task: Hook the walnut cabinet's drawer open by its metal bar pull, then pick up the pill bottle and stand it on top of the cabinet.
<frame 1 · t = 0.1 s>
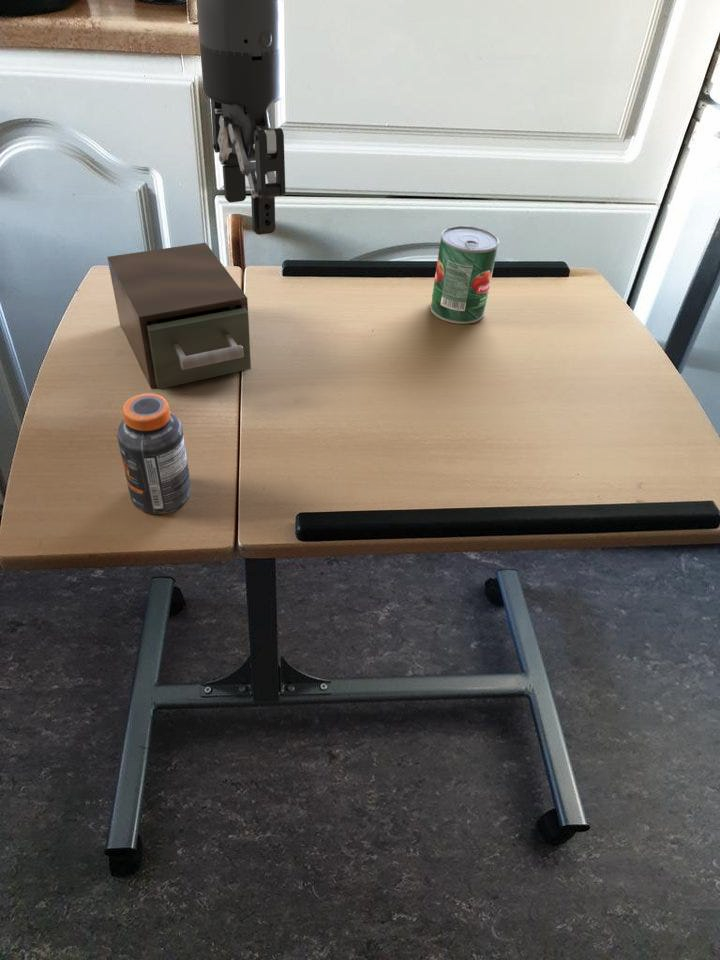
hand: (249, 216, 74), 20 cm above the table, tool pointing down, fingers open, 8 cm apart
cabinet: (183, 345, 91), on the table
drawer: (190, 329, 85), point 5 cm above the table, slide at 0.5 cm
canned tomato: (456, 311, 102), on the table
pill bottle: (161, 496, 71), on the table
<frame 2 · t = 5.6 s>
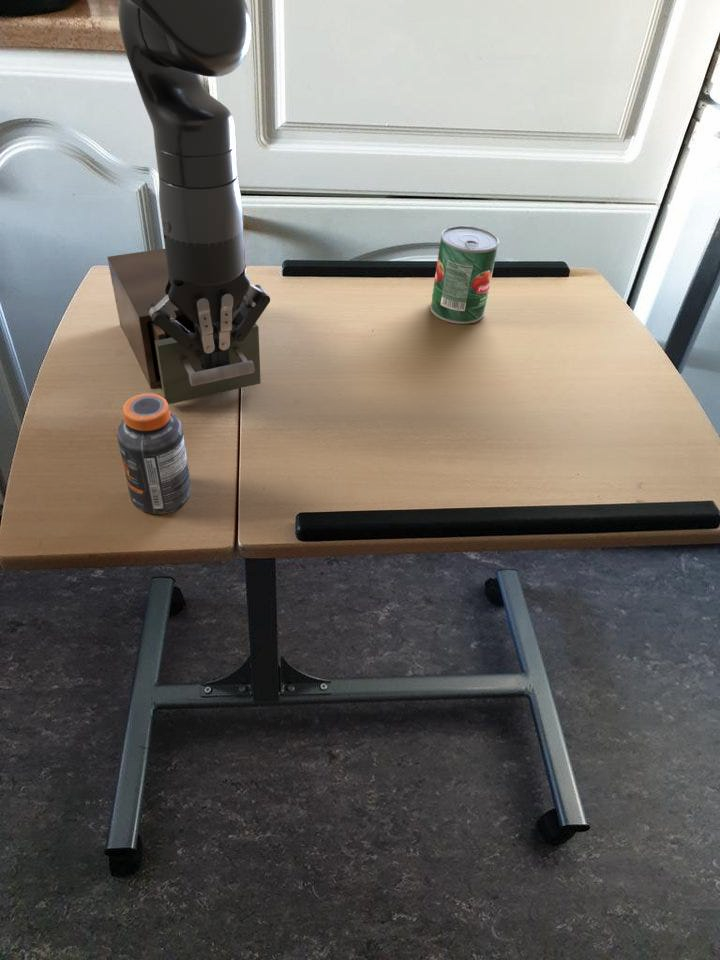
hand: (216, 375, 78), 5 cm above the table, tool pointing down, fingers closed
drawer: (198, 343, 83), point 5 cm above the table, slide at 3.8 cm, touching gripper
everything else where it was.
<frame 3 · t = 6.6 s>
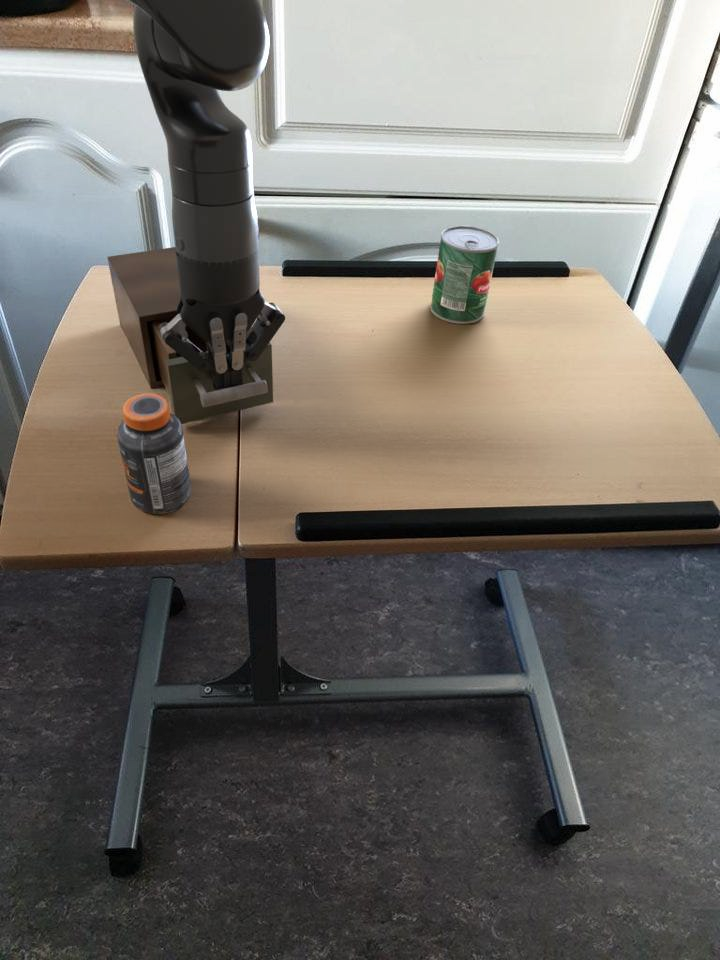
hand: (228, 394, 76), 5 cm above the table, tool pointing down, fingers closed
drawer: (209, 361, 80), point 5 cm above the table, slide at 7.9 cm, touching gripper
everything else where it was.
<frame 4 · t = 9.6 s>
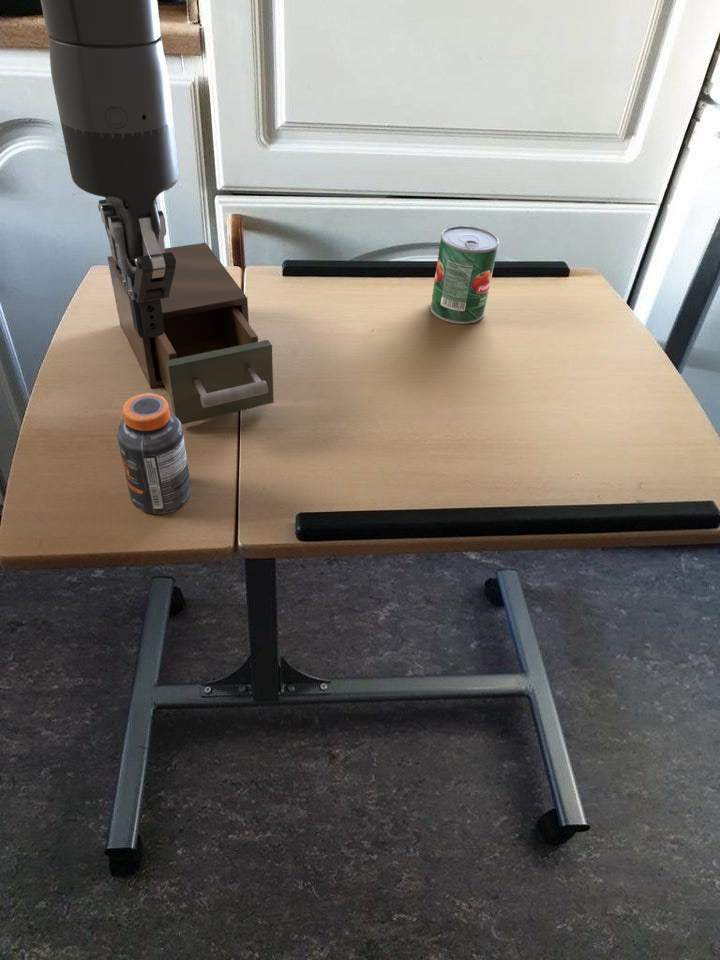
hand: (149, 332, 60), 18 cm above the table, tool pointing down, fingers closed
drawer: (209, 361, 80), point 5 cm above the table, slide at 8.0 cm
everything else where it was.
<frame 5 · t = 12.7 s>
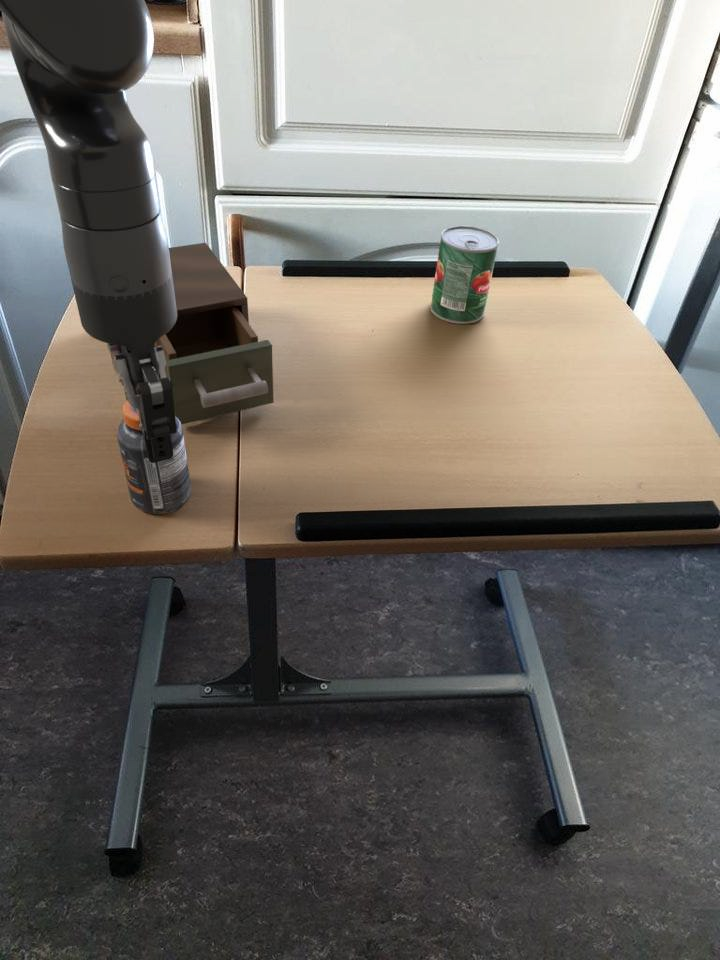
hand: (151, 436, 66), 8 cm above the table, tool pointing down, fingers closed on pill bottle, 6 cm apart
pill bottle: (161, 496, 71), on the table, touching gripper
everything else where it was.
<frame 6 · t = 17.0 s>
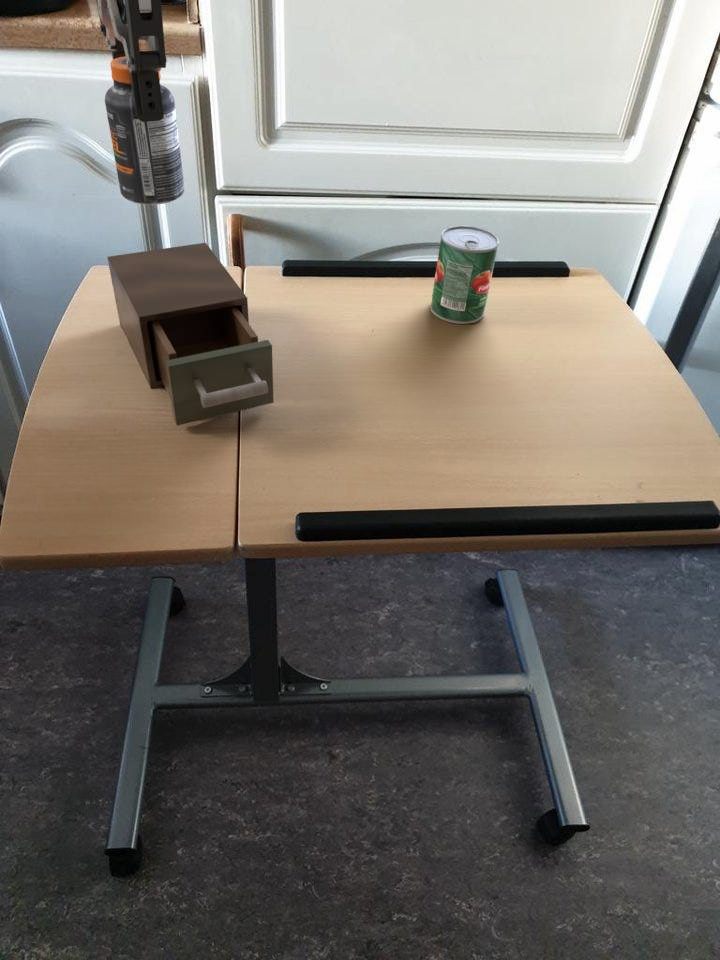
hand: (140, 107, 62), 31 cm above the table, tool pointing down, fingers closed on pill bottle, 6 cm apart
pill bottle: (153, 196, 67), point 23 cm above the table, touching gripper
everything else where it was.
when the fingers open (17 cm above the table, at t = 21.5 s): pill bottle stays where it is, resting on cabinet.
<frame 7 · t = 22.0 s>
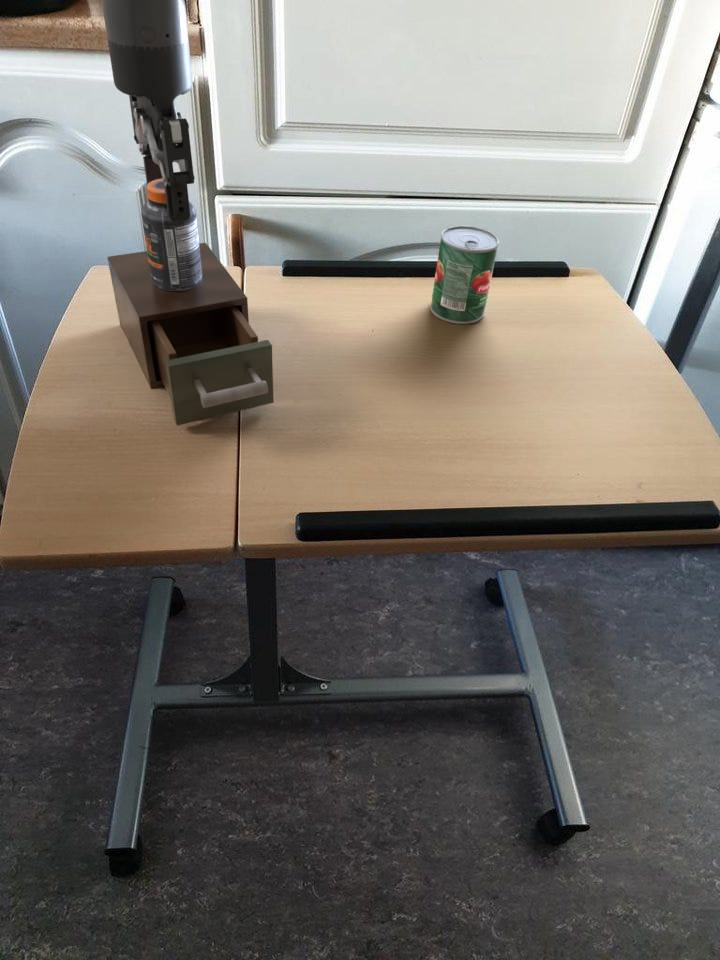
hand: (168, 204, 78), 19 cm above the table, tool pointing down, fingers open, 8 cm apart
pill bottle: (177, 282, 84), point 9 cm above the table, touching cabinet
everything else where it was.
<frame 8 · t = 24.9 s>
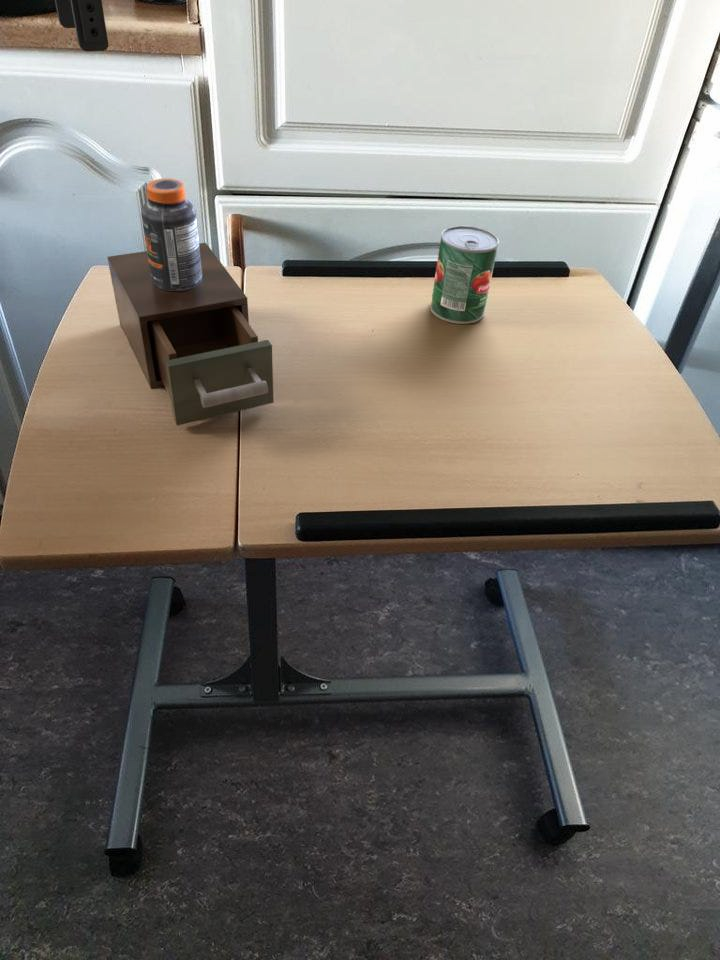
hand: (83, 38, 59), 36 cm above the table, tool pointing down, fingers open, 8 cm apart
nothing on the table moved.
at the end: drawer slide at 8.0 cm; pill bottle inside the target area on the cabinet (1.1 cm from its centre), point 9.4 cm above the cabinet's base; pill bottle tilted 0° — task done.
